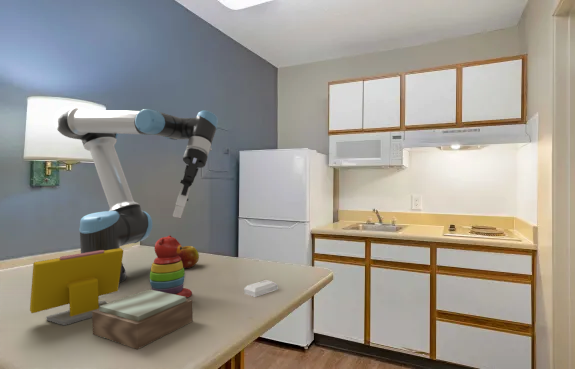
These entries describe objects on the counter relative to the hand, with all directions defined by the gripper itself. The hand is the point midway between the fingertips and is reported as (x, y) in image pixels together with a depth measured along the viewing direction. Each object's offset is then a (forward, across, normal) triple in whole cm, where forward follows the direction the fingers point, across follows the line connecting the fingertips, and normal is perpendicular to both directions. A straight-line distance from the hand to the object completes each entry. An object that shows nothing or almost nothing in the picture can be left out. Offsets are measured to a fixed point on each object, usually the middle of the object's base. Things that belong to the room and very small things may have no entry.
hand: (178, 212), depth 105 cm
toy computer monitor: (+33, -2, +14) cm, 36 cm away
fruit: (+12, +34, -9) cm, 37 cm away
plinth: (+33, -17, -1) cm, 37 cm away
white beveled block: (+19, -5, -30) cm, 36 cm away
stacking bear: (+25, 0, -5) cm, 26 cm away
